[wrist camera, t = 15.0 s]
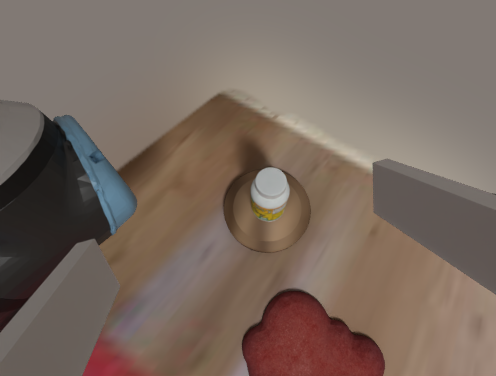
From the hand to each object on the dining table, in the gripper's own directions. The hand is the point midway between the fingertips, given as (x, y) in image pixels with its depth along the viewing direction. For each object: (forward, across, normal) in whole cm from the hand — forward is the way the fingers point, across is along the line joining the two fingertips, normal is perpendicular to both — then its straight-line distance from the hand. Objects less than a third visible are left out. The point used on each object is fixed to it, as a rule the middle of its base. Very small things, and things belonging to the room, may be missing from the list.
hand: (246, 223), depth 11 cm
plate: (+26, +5, -13) cm, 29 cm away
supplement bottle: (+25, +5, -12) cm, 28 cm away
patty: (+11, +4, -29) cm, 32 cm away
